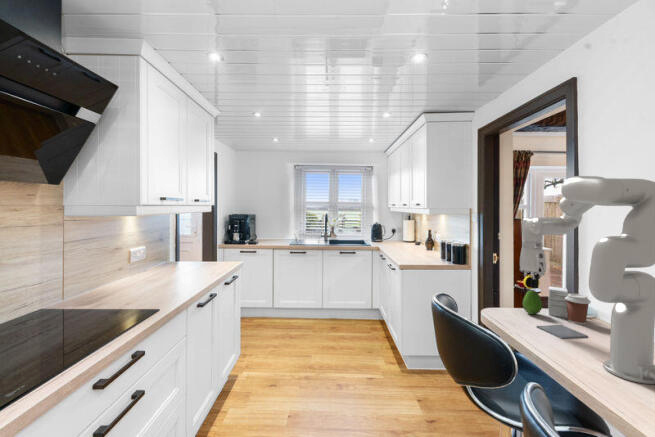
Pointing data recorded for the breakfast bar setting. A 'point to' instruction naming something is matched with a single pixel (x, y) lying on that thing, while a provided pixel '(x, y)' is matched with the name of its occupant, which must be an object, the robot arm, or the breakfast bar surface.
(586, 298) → the coffee cup
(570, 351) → the breakfast bar surface
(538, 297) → the avocado
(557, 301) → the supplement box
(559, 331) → the slate coaster
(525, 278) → the watch
